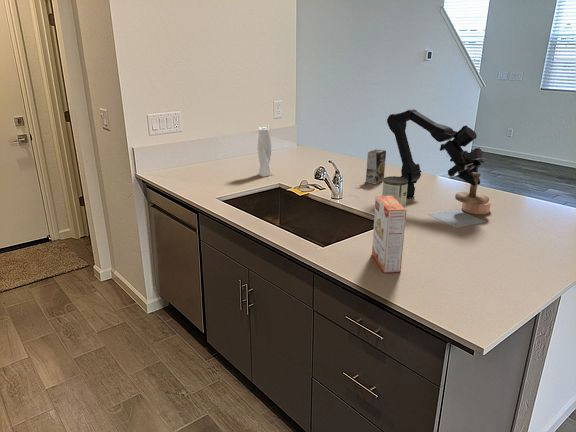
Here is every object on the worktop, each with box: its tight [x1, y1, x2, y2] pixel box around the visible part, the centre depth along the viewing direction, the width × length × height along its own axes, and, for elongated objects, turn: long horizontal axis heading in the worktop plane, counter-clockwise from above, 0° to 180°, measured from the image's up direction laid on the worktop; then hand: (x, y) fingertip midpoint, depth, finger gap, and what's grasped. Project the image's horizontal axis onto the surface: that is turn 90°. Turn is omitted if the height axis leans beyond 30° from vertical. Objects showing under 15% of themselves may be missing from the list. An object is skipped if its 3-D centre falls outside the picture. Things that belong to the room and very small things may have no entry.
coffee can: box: [381, 175, 408, 209], centre depth 190 cm, size 10×10×14 cm
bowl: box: [461, 199, 492, 215], centre depth 193 cm, size 11×11×4 cm
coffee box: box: [365, 149, 387, 185], centre depth 233 cm, size 9×6×16 cm
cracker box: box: [371, 195, 407, 274], centre depth 142 cm, size 14×6×21 cm, turn 5°
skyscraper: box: [256, 124, 274, 178], centre depth 242 cm, size 8×8×28 cm
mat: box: [428, 209, 487, 229], centre depth 184 cm, size 16×16×1 cm
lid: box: [454, 172, 490, 205], centre depth 184 cm, size 13×13×11 cm
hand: (477, 184), depth 183 cm, fingers closed on lid, 3 cm apart
